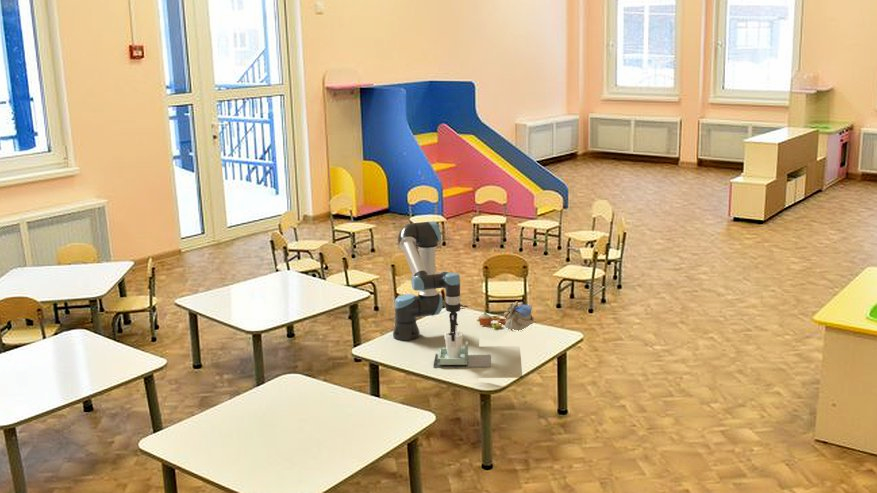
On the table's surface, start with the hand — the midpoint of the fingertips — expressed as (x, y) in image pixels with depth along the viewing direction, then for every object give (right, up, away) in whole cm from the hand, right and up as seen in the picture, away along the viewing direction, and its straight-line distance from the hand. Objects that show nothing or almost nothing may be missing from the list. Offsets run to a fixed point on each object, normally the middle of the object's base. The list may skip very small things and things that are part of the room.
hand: (453, 342), depth 449 cm
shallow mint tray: (0, -10, +2) cm, 10 cm away
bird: (+2, +8, +88) cm, 89 cm away
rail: (+5, -10, +1) cm, 11 cm away
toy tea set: (+27, +3, +62) cm, 67 cm away
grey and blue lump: (+41, +3, +58) cm, 71 cm away
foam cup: (0, -8, +1) cm, 9 cm away
